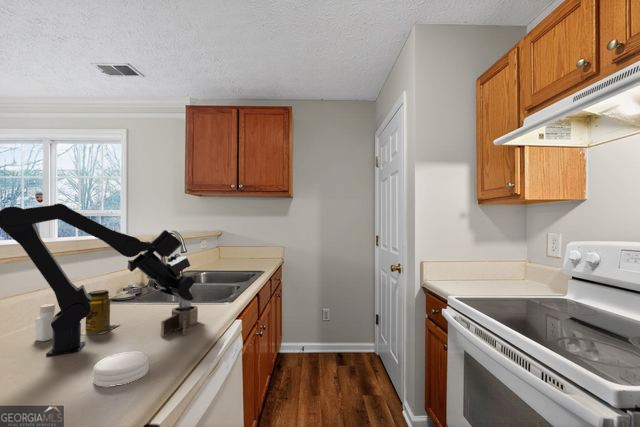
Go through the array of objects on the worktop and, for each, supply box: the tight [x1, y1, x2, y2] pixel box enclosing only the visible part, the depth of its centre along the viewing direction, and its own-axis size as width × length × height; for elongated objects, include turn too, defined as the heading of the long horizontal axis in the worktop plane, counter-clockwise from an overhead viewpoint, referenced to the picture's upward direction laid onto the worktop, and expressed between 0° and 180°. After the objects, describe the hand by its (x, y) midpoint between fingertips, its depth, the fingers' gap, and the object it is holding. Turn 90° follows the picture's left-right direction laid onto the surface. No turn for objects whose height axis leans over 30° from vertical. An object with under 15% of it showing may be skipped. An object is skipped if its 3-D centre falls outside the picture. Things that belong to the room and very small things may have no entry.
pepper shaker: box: [34, 303, 56, 342], centre depth 88 cm, size 4×4×10 cm
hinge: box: [160, 305, 199, 338], centre depth 96 cm, size 15×10×5 cm, turn 23°
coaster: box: [92, 350, 150, 387], centre depth 66 cm, size 10×10×4 cm
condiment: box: [81, 289, 121, 336], centre depth 95 cm, size 7×8×12 cm
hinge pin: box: [178, 288, 192, 311], centre depth 100 cm, size 4×4×10 cm
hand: (188, 298), depth 101 cm, fingers closed on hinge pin, 3 cm apart
